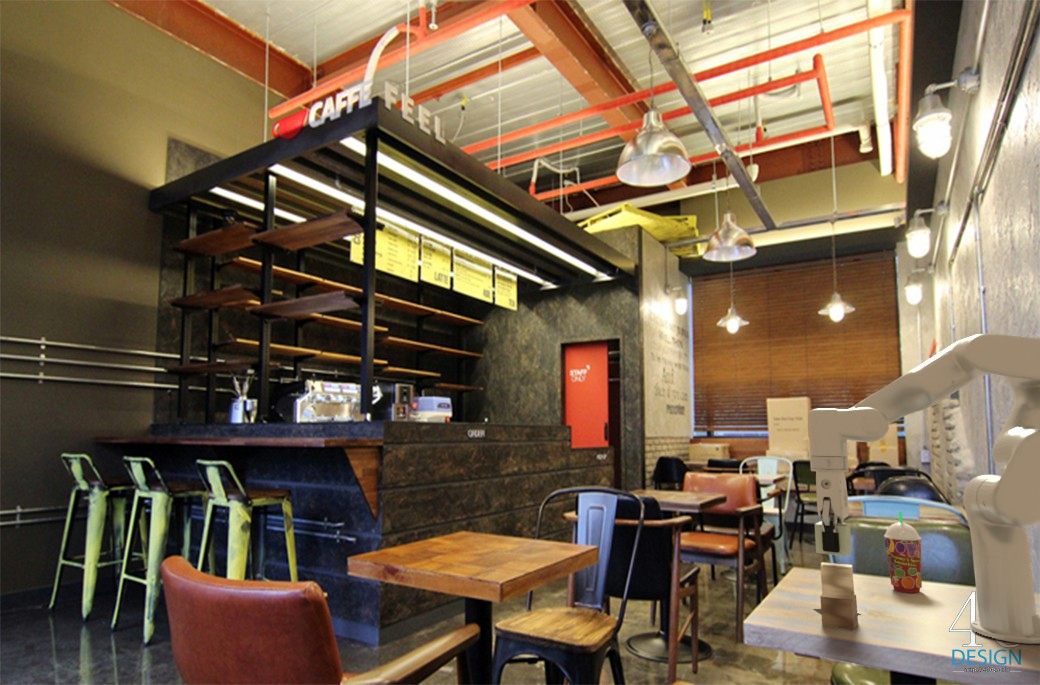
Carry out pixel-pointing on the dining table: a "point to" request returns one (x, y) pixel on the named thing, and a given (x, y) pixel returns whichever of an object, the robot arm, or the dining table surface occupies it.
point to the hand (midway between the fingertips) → (834, 548)
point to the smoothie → (904, 557)
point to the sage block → (843, 539)
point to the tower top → (837, 581)
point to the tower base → (839, 613)
